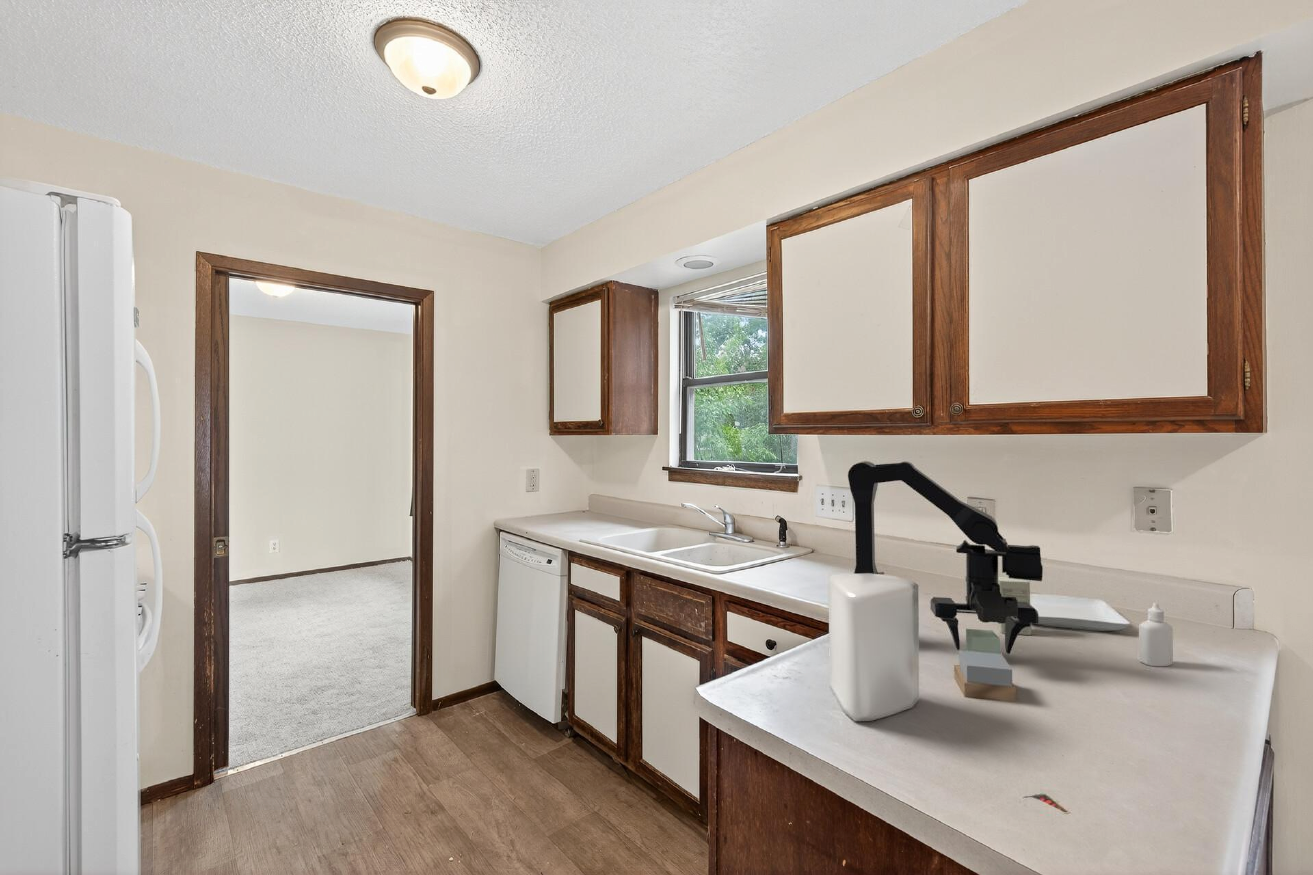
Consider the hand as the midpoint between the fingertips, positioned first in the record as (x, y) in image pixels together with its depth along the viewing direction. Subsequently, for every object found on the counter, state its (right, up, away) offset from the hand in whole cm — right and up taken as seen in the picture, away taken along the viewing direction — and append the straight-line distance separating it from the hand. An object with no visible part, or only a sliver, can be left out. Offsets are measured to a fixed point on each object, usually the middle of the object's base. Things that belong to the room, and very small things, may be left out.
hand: (982, 651), depth 120 cm
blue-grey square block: (-8, +1, -15) cm, 17 cm away
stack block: (0, -1, 0) cm, 1 cm away
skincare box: (+15, -1, +15) cm, 21 cm away
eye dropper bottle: (+32, -1, -4) cm, 32 cm away
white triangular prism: (-28, -2, -18) cm, 34 cm away
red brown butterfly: (-18, -3, -47) cm, 50 cm away
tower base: (-8, -2, -14) cm, 16 cm away
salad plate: (+33, -1, +23) cm, 40 cm away
